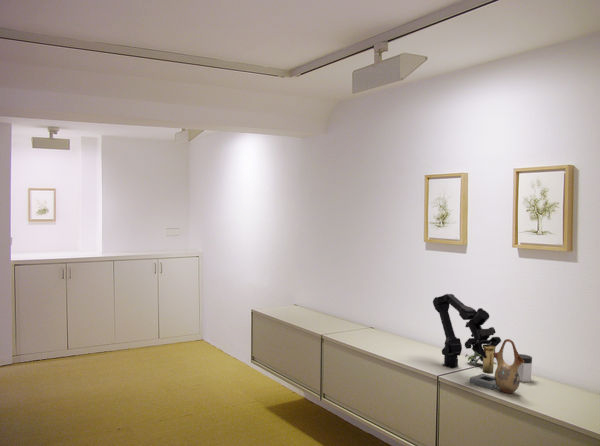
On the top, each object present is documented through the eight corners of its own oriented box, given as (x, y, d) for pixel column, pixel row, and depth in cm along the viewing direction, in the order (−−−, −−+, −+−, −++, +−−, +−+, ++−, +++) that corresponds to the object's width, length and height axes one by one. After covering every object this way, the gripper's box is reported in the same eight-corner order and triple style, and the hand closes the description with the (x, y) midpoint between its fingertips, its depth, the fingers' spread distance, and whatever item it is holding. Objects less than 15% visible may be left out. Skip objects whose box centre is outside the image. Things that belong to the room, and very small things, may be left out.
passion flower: (484, 374, 294) (497, 360, 288) (470, 373, 289) (482, 358, 283) (473, 359, 302) (486, 344, 297) (460, 357, 297) (472, 342, 292)
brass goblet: (479, 371, 261) (480, 345, 260) (485, 369, 265) (486, 343, 264) (490, 374, 256) (491, 348, 256) (496, 372, 260) (497, 346, 260)
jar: (534, 380, 269) (536, 357, 268) (526, 383, 264) (528, 359, 263) (518, 375, 276) (519, 353, 275) (510, 378, 270) (511, 355, 270)
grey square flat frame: (469, 382, 261) (470, 377, 261) (482, 378, 269) (482, 373, 269) (492, 389, 252) (492, 384, 252) (504, 384, 260) (505, 379, 260)
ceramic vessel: (485, 387, 254) (488, 336, 253) (497, 385, 259) (500, 334, 258) (515, 398, 240) (518, 344, 240) (527, 395, 245) (530, 342, 244)
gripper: (469, 322, 260) (483, 350, 250) (499, 320, 267) (514, 348, 257) (458, 334, 268) (471, 362, 258) (488, 332, 274) (502, 359, 264)
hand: (490, 357), depth 259 cm, fingers closed on brass goblet, 5 cm apart
